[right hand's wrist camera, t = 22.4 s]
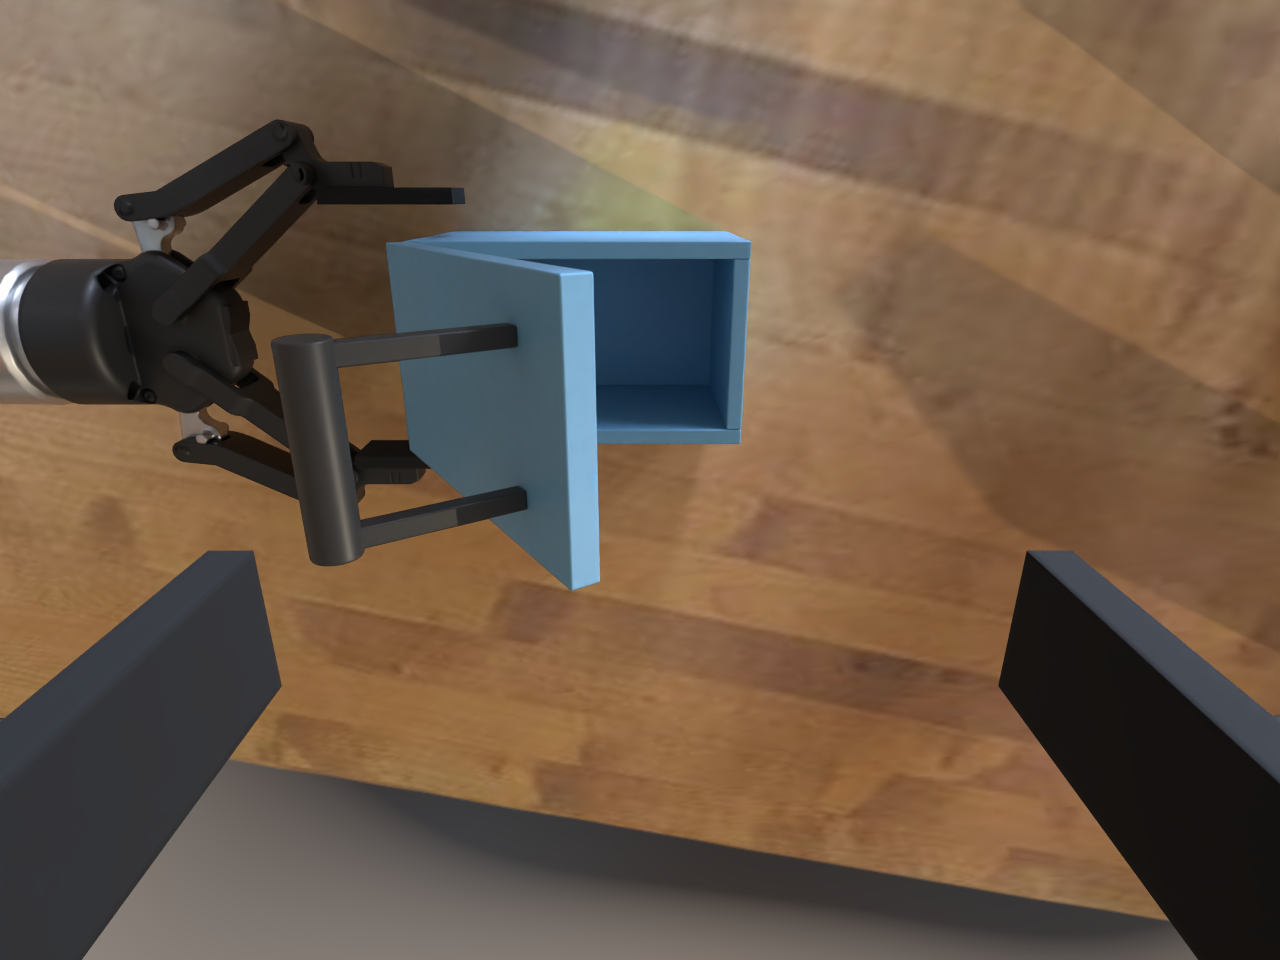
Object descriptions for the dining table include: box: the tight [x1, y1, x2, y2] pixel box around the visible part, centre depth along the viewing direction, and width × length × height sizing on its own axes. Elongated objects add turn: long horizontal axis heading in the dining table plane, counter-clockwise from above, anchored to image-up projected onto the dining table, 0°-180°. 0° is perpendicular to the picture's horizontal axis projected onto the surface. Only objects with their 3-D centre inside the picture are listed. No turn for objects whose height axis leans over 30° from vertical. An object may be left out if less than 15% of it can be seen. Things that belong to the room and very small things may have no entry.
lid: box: [271, 242, 600, 590], centre depth 27 cm, size 17×10×8 cm
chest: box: [402, 231, 751, 444], centre depth 40 cm, size 16×10×10 cm, turn 90°
